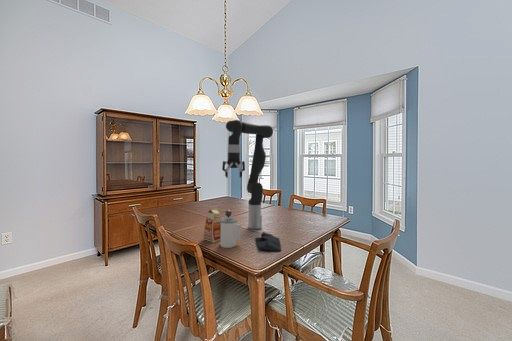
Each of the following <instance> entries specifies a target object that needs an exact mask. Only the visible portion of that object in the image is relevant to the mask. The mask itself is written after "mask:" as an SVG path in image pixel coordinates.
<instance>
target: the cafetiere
mask: <svg viewBox="0 0 512 341" xmlns="http://www.w3.org/2000/svg"><path fill="white" fill-rule="evenodd" d="M237 222H238V219H237V218H235V217H231V216H229V220H228V217H222V218H220V240H219V243H220V247H222V248H224V249H231V248H234V247H236V246H237V240H238V241H240V240H242V223H237Z"/></svg>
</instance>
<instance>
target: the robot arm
mask: <svg viewBox="0 0 512 341" xmlns="http://www.w3.org/2000/svg"><path fill="white" fill-rule="evenodd" d="M225 129H226V130H227V131H228V132H230V133H231V135H229V136H228V140H227V141H228V142H227V143H228V145H227V161H224V160H223V161H222V167H221V169H222V171H224V172H225V173H224V174H225V175H224V176H225V178H227V179H228V178H229V177H228V171H229V170H230V169H236V168H237V169H238V170H239V174H238V175H239V178H240V179H241V178H242V177H243V172H244V171H246V164H245V161H240V159H241V158H240V156H241V155H240V154H241V148H240V146H241V145H240V138H241V134H246V135H247V134H248V135H255V142H254V150H253V156H252V162H251V168H250V174H249V178H248V181H247V185H246V191H247V192H248V194H249V195H251V196H250V199H249V200H248V208H247V209H248V217H247V218H248V219H247V223H248V224H247V227H248V229H250V230H251V229H252V230H260V229H262V226H263V225H262V221H263V220H262V218H263V216H262V202H263V196H264V195H263V192H264V188H263V185H262V183H260V182H259V176H260V174H261V173H262V170H263V169H264V167H265V164H266V159H267V157H266V156H267V155H266V152H265V149H264V139H269V138H271V137H272V136H273V134H274V129H273V127H272V126H271V125H268V124H267V125H266V124H265V125H259V124H253V123H249V122H246V121H245V122H244V121H241V120H239V119H234V120H229V121H227V122H226V124H225ZM226 165H227V167H226ZM240 165H242V167H241V166H240Z"/></svg>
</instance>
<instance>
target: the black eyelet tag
mask: <svg viewBox="0 0 512 341" xmlns="http://www.w3.org/2000/svg"><path fill="white" fill-rule="evenodd" d="M260 236H261V237H259V236H258V237H255V239H254V240H255V243H256V246H257V247H258V249H259V250H260V251H270V252H275V253H277V252H282V246H281V240H280V238H278V237H276V236H274V235H273V234H271V233H268V232H265V231H264V232H262V233H261V235H260Z"/></svg>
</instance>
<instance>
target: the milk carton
mask: <svg viewBox="0 0 512 341" xmlns="http://www.w3.org/2000/svg"><path fill="white" fill-rule="evenodd" d="M220 219H221V214H220V212H219V211H218V208H211V207H210V208H209V210H208V212H207V216H206V218H205V224H204V230H203V237H202V240H204V241H206V240H207V241H206V242H209V241H210V243H216V242H218V241H219V242H220Z"/></svg>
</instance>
